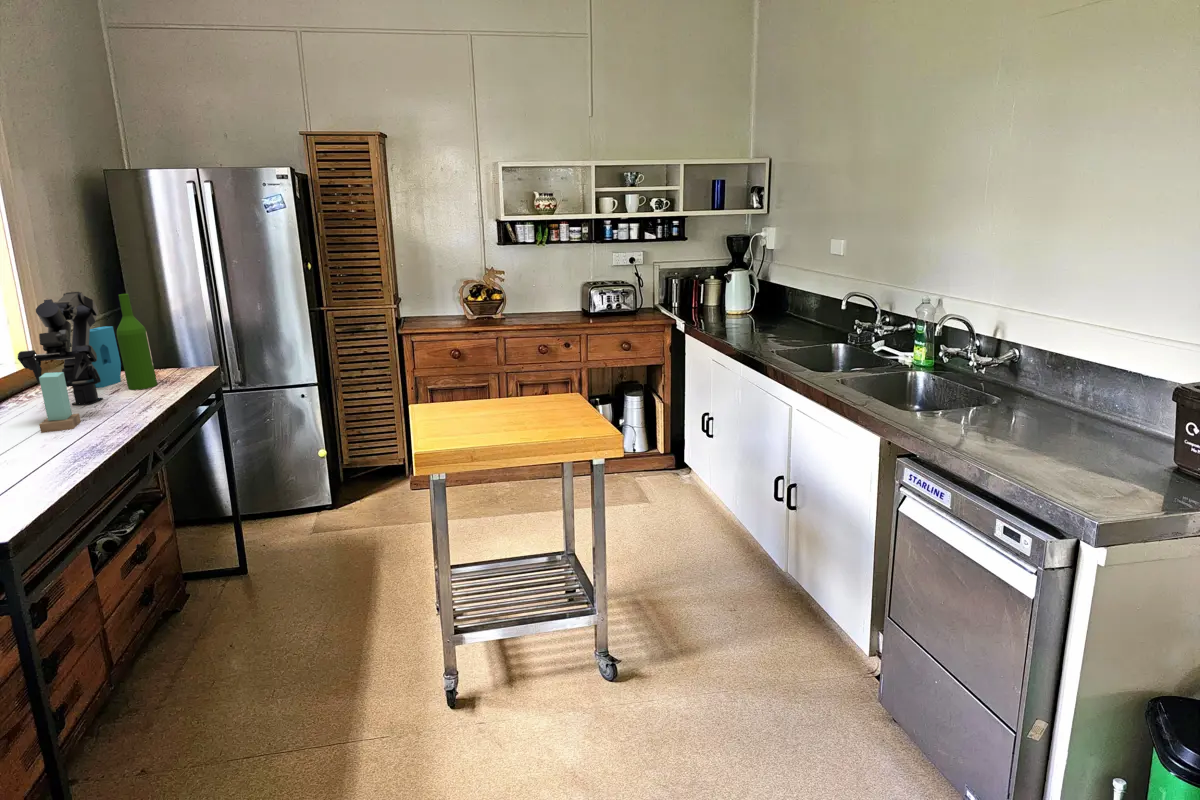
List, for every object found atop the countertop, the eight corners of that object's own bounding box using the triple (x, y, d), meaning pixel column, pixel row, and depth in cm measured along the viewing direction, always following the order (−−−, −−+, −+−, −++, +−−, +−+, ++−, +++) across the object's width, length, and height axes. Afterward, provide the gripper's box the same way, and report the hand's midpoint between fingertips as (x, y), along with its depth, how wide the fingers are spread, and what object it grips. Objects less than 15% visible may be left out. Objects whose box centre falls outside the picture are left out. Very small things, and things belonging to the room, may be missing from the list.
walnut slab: (50, 427, 227) (47, 417, 226) (81, 423, 230) (79, 413, 229) (41, 434, 220) (39, 424, 219) (74, 430, 222) (71, 420, 221)
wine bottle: (162, 385, 271) (143, 292, 262) (136, 391, 264) (116, 296, 255) (149, 382, 276) (130, 291, 267) (123, 388, 269) (102, 295, 260)
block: (97, 389, 270) (84, 332, 265) (86, 388, 271) (73, 332, 266) (126, 380, 281) (114, 326, 276) (115, 380, 282) (103, 326, 277)
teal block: (54, 415, 226) (45, 372, 221) (72, 414, 227) (63, 372, 223) (48, 420, 221) (38, 377, 217) (66, 419, 223) (57, 376, 218)
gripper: (11, 324, 223) (7, 369, 216) (85, 318, 229) (84, 361, 222) (27, 346, 233) (23, 390, 226) (97, 339, 239) (96, 382, 232)
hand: (57, 380), depth 226 cm, fingers open, 9 cm apart
